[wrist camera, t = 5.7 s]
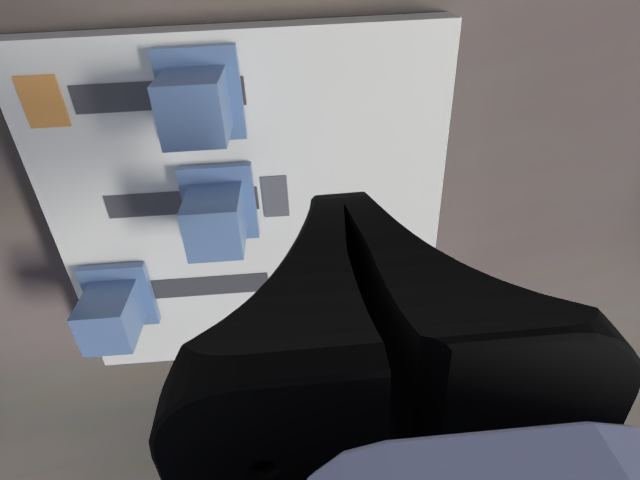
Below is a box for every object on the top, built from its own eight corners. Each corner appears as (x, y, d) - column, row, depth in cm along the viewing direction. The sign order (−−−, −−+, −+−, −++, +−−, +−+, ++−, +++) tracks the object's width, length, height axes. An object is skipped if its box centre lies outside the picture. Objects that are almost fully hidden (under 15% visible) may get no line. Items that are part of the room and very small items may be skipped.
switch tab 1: (161, 317, 22) (146, 363, 20) (99, 322, 22) (77, 368, 19) (144, 261, 20) (126, 304, 18) (77, 266, 20) (50, 310, 18)
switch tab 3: (259, 232, 20) (256, 272, 17) (192, 237, 20) (180, 277, 17) (251, 161, 18) (246, 195, 16) (176, 165, 18) (160, 200, 16)
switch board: (417, 320, 25) (425, 342, 24) (114, 343, 25) (104, 366, 23) (448, 11, 17) (462, 18, 16) (-3, 34, 17) (-28, 42, 15)
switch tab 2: (247, 134, 17) (242, 165, 15) (171, 139, 17) (153, 171, 15) (235, 42, 16) (227, 61, 13) (151, 47, 16) (127, 66, 13)
